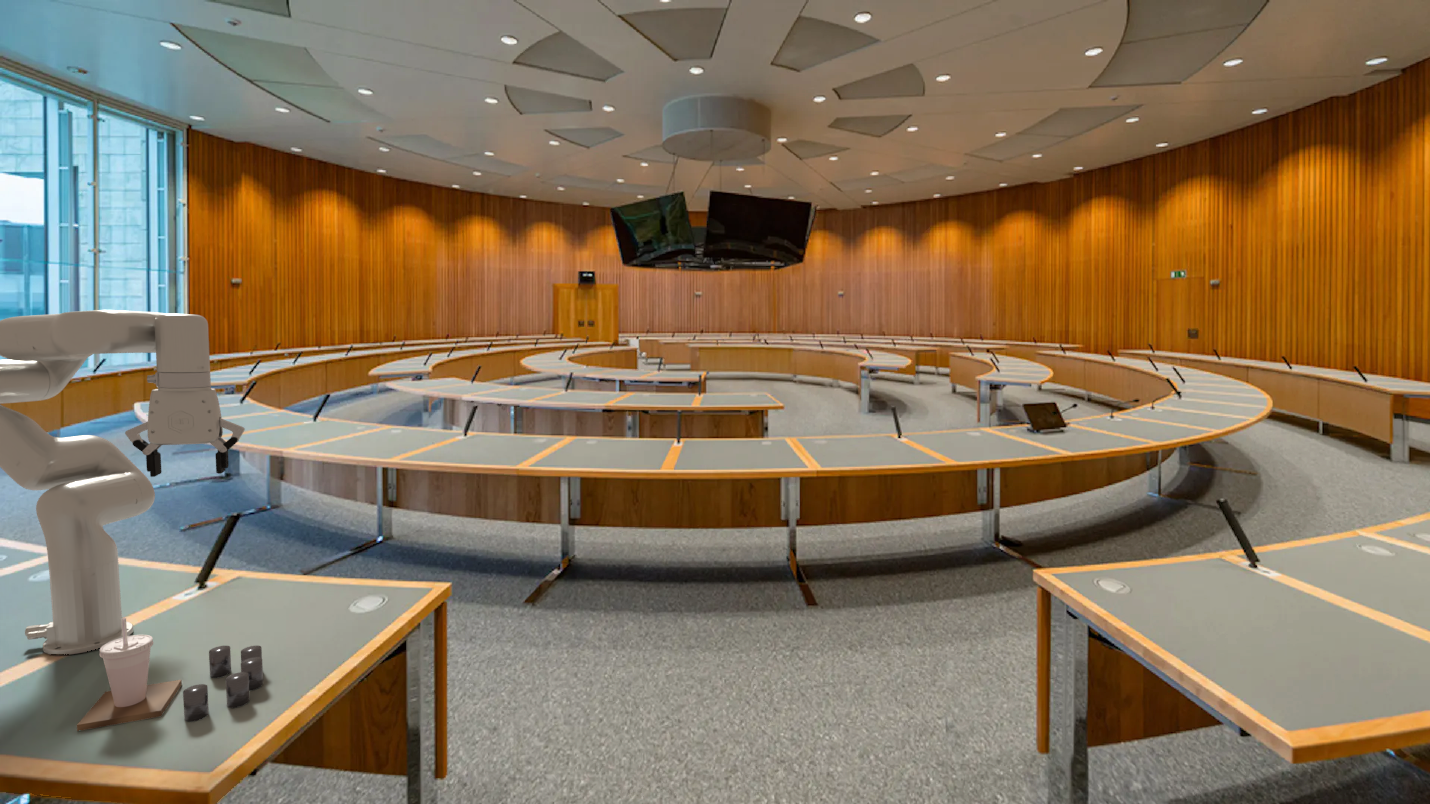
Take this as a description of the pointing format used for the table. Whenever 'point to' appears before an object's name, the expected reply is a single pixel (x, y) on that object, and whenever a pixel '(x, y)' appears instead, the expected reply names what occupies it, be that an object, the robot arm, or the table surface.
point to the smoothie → (127, 666)
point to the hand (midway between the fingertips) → (189, 473)
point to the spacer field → (235, 683)
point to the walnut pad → (130, 707)
